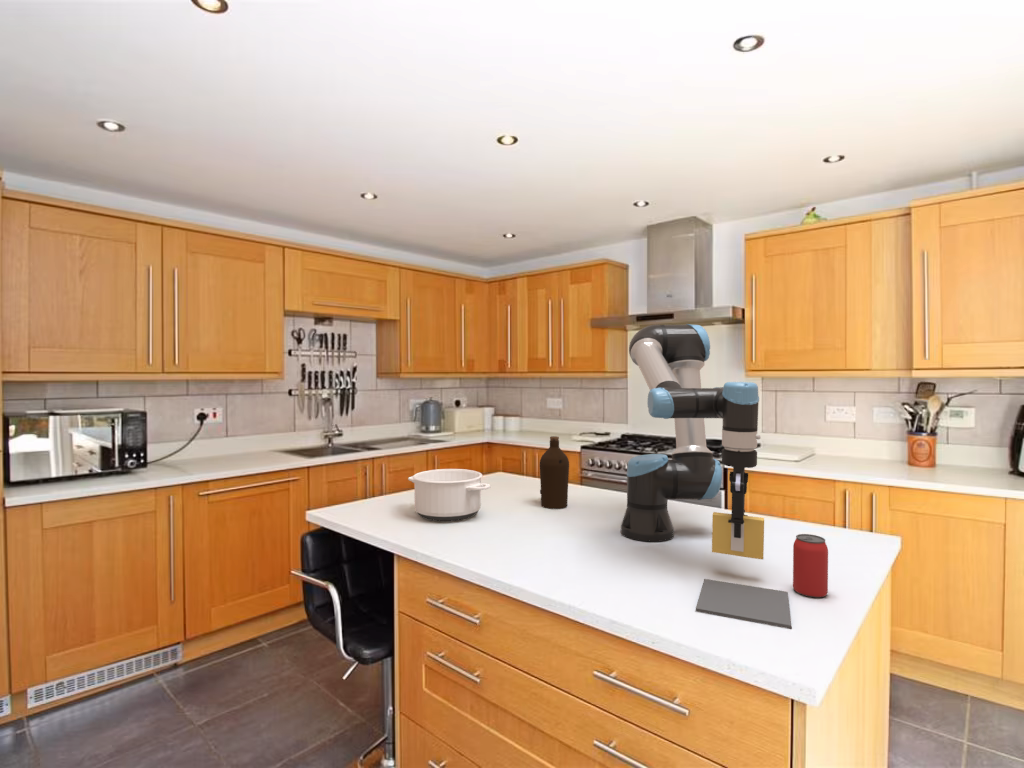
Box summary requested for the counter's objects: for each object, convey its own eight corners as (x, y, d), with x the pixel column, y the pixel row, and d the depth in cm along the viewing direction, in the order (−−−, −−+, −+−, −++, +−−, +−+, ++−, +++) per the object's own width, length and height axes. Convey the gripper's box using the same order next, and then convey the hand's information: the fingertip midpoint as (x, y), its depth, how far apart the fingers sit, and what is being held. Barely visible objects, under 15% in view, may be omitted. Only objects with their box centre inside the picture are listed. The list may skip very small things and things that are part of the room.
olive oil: (574, 505, 192) (574, 436, 191) (558, 511, 183) (558, 439, 183) (550, 500, 198) (550, 434, 198) (533, 506, 190) (533, 437, 190)
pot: (507, 514, 180) (507, 474, 179) (466, 531, 160) (466, 486, 160) (433, 501, 197) (433, 465, 197) (387, 515, 178) (387, 475, 177)
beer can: (786, 586, 118) (787, 533, 118) (814, 585, 119) (815, 532, 118) (805, 599, 111) (805, 542, 111) (834, 598, 112) (835, 542, 112)
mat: (695, 611, 106) (695, 608, 106) (704, 581, 121) (704, 578, 121) (791, 628, 99) (791, 625, 99) (787, 594, 114) (787, 591, 114)
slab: (711, 552, 125) (712, 514, 125) (712, 548, 127) (713, 511, 127) (763, 559, 120) (764, 520, 120) (763, 556, 123) (764, 517, 122)
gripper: (756, 455, 114) (754, 562, 115) (757, 444, 128) (755, 540, 129) (719, 452, 117) (717, 556, 118) (724, 442, 131) (722, 535, 132)
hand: (737, 548), depth 124 cm, fingers closed on slab, 2 cm apart
